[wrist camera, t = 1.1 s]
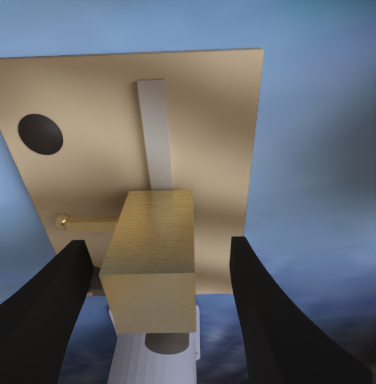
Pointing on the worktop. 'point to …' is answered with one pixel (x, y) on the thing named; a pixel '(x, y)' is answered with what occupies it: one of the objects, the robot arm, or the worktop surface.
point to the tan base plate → (137, 145)
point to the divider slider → (147, 261)
